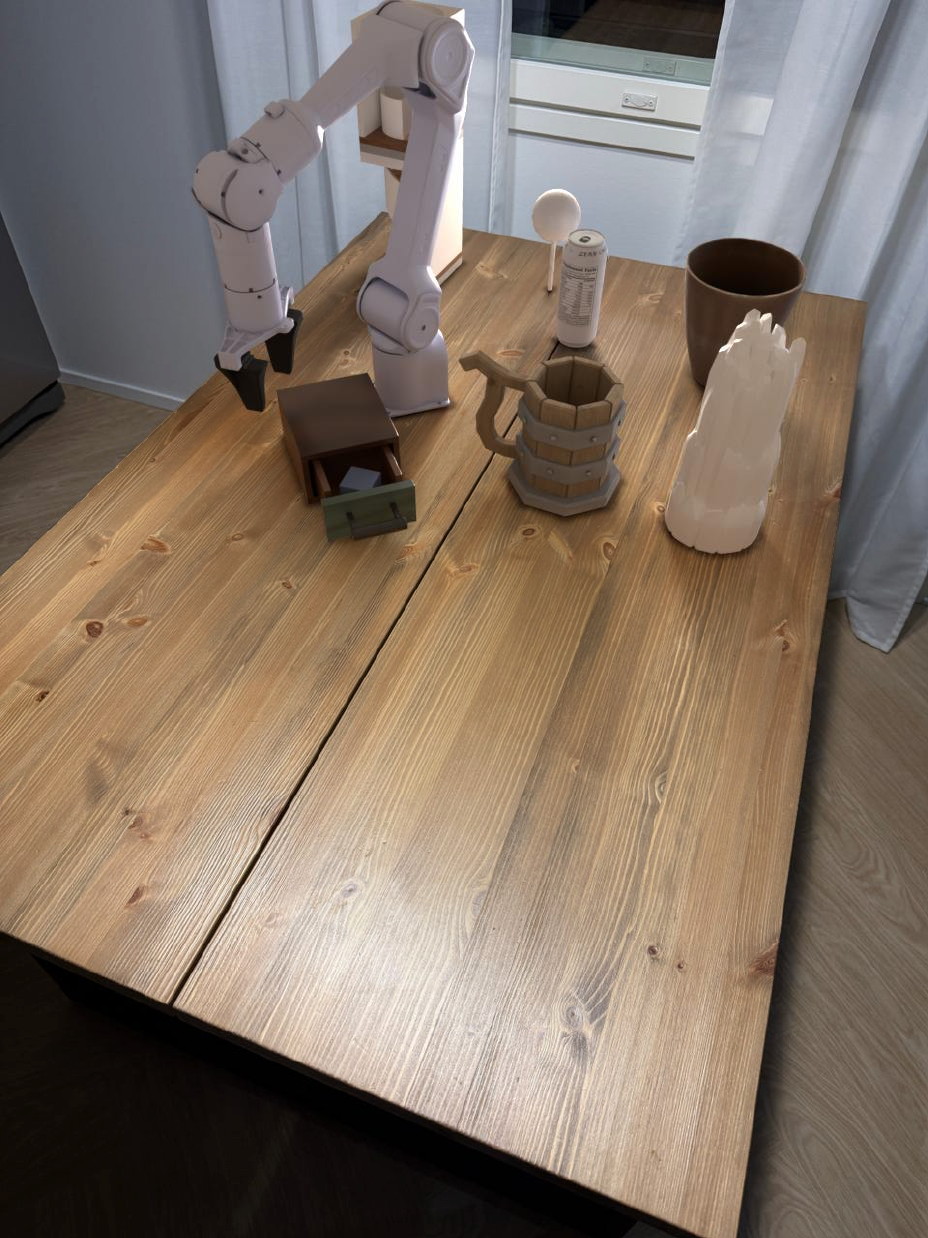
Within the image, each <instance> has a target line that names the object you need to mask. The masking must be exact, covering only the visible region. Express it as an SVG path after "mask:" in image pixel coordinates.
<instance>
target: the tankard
mask: <svg viewBox="0 0 928 1238" xmlns="http://www.w3.org/2000/svg"><path fill="white" fill-rule="evenodd" d="M458 363H459V364H460V366H461V368H462V370H463V371H464V372H470V371H472V370H473V371H474V370H477V371H479V372H480V373H481V374H482V375H483V376H484V377H486V384H485V389H484V390H485V392H484V397H483V399H482V401H481V403H480V405H479V407H478V409H477V411H476V413H475V431H476V433H477V435H478V437H479V438H480V441H481V443H482V444H483V447H484V449H486V450H488V451H491V452H492V453H495V454H497V455H500V456H501V457H505V458H509V459H513V460H512V461H511V463H510V464H509V466H508V467H507V475H506V476H507V478H508V480H509V482H510V483H511V485H512V486H513V488H514V490H515V491H516V493H517V495H518V496H519V499H520V500H521V502H522V503H523V504H524V505H527V506H530V507H533V508H536V509H539V510H542V511H546V512H549V513H552V514H555V515H559V516H561V517H568V516H572V515H576V514H580V513H584V512H589V511H593V510H597V509H601V508H604V507H607V505H608V503H609V501H610V499H611V497H612V495H613V494H614V492H615V490H616V488H617V486H618V484H619V482H620V480H621V475H622V471H621V470H620V469H619V467H618V466H617V465H616V463H615V461H616V459H617V456H618V454H619V452H620V445H621V439H622V438H621V437H620V436H619V435H618V433H617V432H618V431H619V429H620V427H622V425H623V422H624V420H625V416H626V412H627V411H626V410H627V405H628V403H627V402H626V401H625V400H624V399H623V395H624V389H625V386H624V385H625V384H624V383H623V382H622V380H621V379H620V377H618V376H617V374H616V372H614V370H613V369H612V368H611V367H610V366H609V365H607V364H606V363H604V362H600V361H596V360H592V359H588V358H585V357H581V356H578V355H575V356H572V355H569V356H563V357H558V358H554V359H553V358H552V359H549V360H544V361H541V362H539V363H537V365H536V367H535V368H534V369H533V371H531V373H530V375H527V374H523V373H519V372H516V371H513V370H512V371H511V370H510V369H507V368H506V367H505V366H503V365H501V363H498V362H497V361H496V360H494V359H493V358H492V357H490V356H488V355H487V353H485V352H483V351H482V350H481V349H478V350H474V351H471V352H468V353H464V354H462V355H461V356H460V357H459V358H458ZM506 388H509V389H513V390H514V391H515V390H516V391H518V392H522V395H521V396H520V397H519V398H518V400H517V417H518V418H519V420H520V421H521V423H522V426H521V427H520V429H519V430H518V431H517V434H516V435H515V440H512V439H506V438H505V437H502V436H500V435H499V434H498V432H497V430H496V427H495V418H496V415H497V413H498V412H499V410H500V407H501V406H502V403H503V401H504V398H505V394H506V393H505V392H506Z"/></svg>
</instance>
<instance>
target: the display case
mask: <svg viewBox="0 0 928 1238" xmlns="http://www.w3.org/2000/svg"><path fill="white" fill-rule="evenodd" d="M401 1H402V2H404V3H405V4H407V5H410V6H413V7H416V8H419V9H422V10H425V11H428V12H431V13H434V14H436V15H439V16H442V17H448V18H454V19H456V20H458V21H459V22H460V23H461V24H462V25H463V26H464V27H465V8H461V7H456V6H449V5H443V4H436V3H430V2H424V1H417V0H401ZM376 7H377V6H375V7H373V8H371V9H370V10H368V11H366V12H364V13H362V14H360V15H359V16H357V17H355V18H353V19H351V20H350V35H351V44H352V43H353V41H354V40H355V39H356V38H357V37H358V35H359V31H360V25H361V21H362V19H363V18H365V17H366V16H368V15H369V14H371V13H373V12H374V10H375V9H376ZM356 115H357V116H356V117H357V129H358V140H359V141H358V143H359V156H360V163H365V164H369V165H375V166H379V167H383V173H384V174H383V175H384V190H385V191H384V194H385V207H386V212H387V214H388V217H389V218H390V220H391V221H392V219H393V214H394V209H395V204H396V199H397V194H398V189H399V184H400V179H401V174H402V169H403V164H404V159H405V154H406V149H407V144H408V138H409V133H410V128H411V123H412V118H413V109H412V107H411V105H410V104H409V102H408V100H407V98H406V97H405V95H404V93H403V91H402V90H401V88H400V87H395V86H380V87H379V88H377V89H376V90H375V91H374V92H372V93H371V94H370V95H369V96H367V97H366V98H365V99H364V100H362V101H361V102H360V103H359V104H357V105H356ZM463 178H464V122H463V123H462V127H461V132H460V136H459V141H458V145H457V150H456V154H455V158H454V163H453V167H452V172H451V176H450V180H449V185H448V189H447V194H446V198H445V202H444V207H443V211H442V216H441V220H440V224H439V229H438V233H437V238H436V242H435V247H434V251H433V255H432V260H431V264H430V268H431V271H432V273H433V275H434V277H435V279H436V281H437V283H438V285H439V286H441V284H443V283H444V281H446V279H448V278H449V277H450V276H451V275H452V274H453V273H454V271H456V269H458V268H459V267H460V266H461V265H462V263H463V209H464V207H463V204H464V203H463V200H464V197H463V195H464V193H463V192H464V191H463V189H464V179H463ZM385 255H386V251H385V252H384V253H383V254H382V255H381V256H379V257H378V258H377V259H375V261H374V262H376V261H378V260H379V259H381V258H383V257H384V256H385Z"/></svg>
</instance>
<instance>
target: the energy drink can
mask: <svg viewBox="0 0 928 1238" xmlns="http://www.w3.org/2000/svg"><path fill="white" fill-rule="evenodd" d="M605 241H606V237H605V235H604V234H603V233H601V232H600V231H598V230H595V229H590V228H579V229H577V230H575V231H573V232H571V233H570V234H569V238H568V239H567V240H566V242H565V243H564V245H563V246H562V253H561V254H562V256H561V264H560V274H559V284H558V285H559V286H558V293H557V295H558V296H557V305H556V313H555V314H556V316H555V324H554V325H555V327H554V334H555V335H556V337H557V340H558V342H560V343H561V344H562V345H564V346H566V347H569V348H577V349H578V348H583V347H586V346H588V345H590V344H591V343H592V342H593V340H595V338H596V336H597V333H598V327H599V318H600V311H601V303H602V298H603V288H604V282H605V274H606V267H607V259H608V252H609V251H608V250H609V249H608V247H607V245H606V243H605Z"/></svg>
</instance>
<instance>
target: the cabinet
mask: <svg viewBox="0 0 928 1238" xmlns="http://www.w3.org/2000/svg"><path fill="white" fill-rule="evenodd" d="M373 382H374V381H373V380H372V378H371V376H370V374H369V373H368V372H362V373H357V374H352V375H347V376H341V377H336V378H330V379H325V380H321V381H315V382H310V383H304V384H299V385H294V386H289V387H284V388H283V387H282V388H279V389H276V390H275V393H276V399H277V403H278V404H277V405H278V410H279V414H280V420H281V427H282V432H283V438H284V440H285V443H286V446H287V449H288V452H289V454H290V458H291V460H292V463H293V465H294V466H293V467H294V469H295V472H296V474H297V477H298V480H299V483H300V485H301V488H302V491H303V494H304V496H305V500H306V502H307V504H308V505H310V504H315V503H320V502H321V501H320V499H319V496H318V493H317V491H316V488H315V485H314V483H313V480H312V477H311V474H310V470H309V463H308V460H313V459H318V458H322V457H327V456H332V455H337V454H342V453H346V452H351V451H356V450H361V449H365V448H370V447H375V446H380V445H385V444H388V445H389V448H390V450H391V452H392V454H393V456H394V458H395V460H396V462H397V464H398V467H399V469H400V471H401V472H402V464H401V462H402V461H401V447H400V445H401V443H400V435H399V433H398V431H397V429H396V427H395V424H394V422H393V421H392V419H391V418H390V417H389V415H388V413H387V411H386V409H385V407H384V404H383V402H382V400H381V398H380V396H379V394H378V392H377V390H376V388H375V386H374V384H373Z"/></svg>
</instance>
